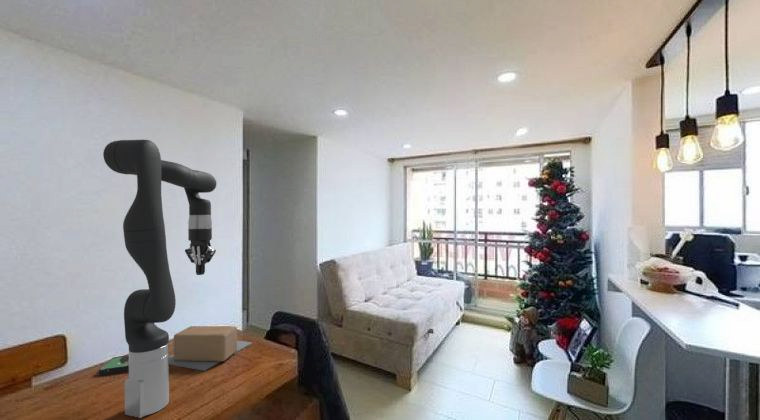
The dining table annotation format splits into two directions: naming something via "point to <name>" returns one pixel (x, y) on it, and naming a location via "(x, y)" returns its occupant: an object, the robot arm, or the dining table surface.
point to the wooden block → (205, 343)
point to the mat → (204, 364)
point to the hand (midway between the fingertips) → (200, 274)
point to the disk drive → (115, 366)
